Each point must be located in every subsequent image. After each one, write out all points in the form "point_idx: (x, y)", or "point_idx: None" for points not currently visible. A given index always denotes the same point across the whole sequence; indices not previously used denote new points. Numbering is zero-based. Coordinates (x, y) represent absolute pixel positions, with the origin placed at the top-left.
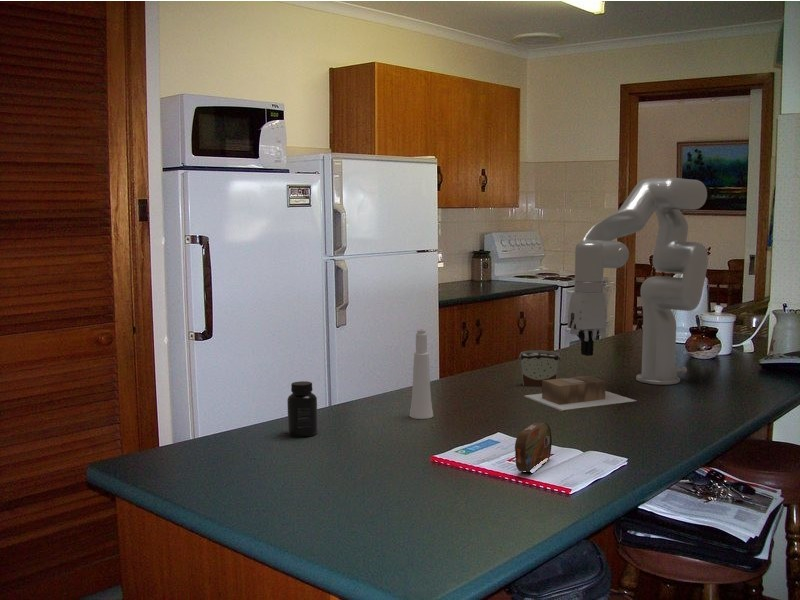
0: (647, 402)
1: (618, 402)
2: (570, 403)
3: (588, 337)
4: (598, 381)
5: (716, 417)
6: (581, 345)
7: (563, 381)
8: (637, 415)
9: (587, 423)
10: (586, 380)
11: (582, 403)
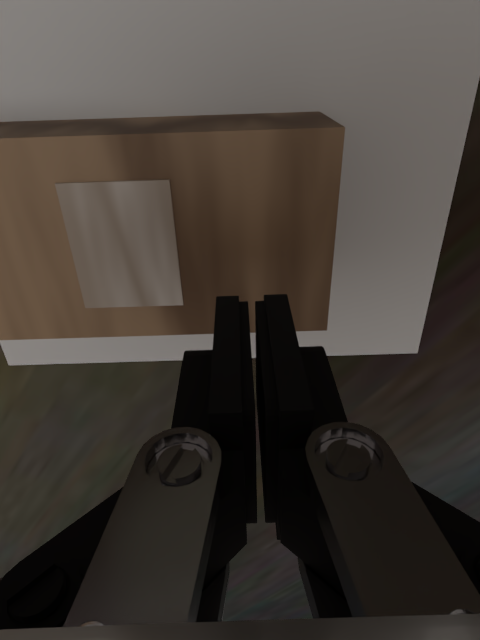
0: (451, 364)
1: None
2: None
3: (223, 594)
4: None
5: None
6: (178, 404)
7: (53, 239)
8: (260, 478)
9: (42, 493)
10: (226, 271)
11: None
